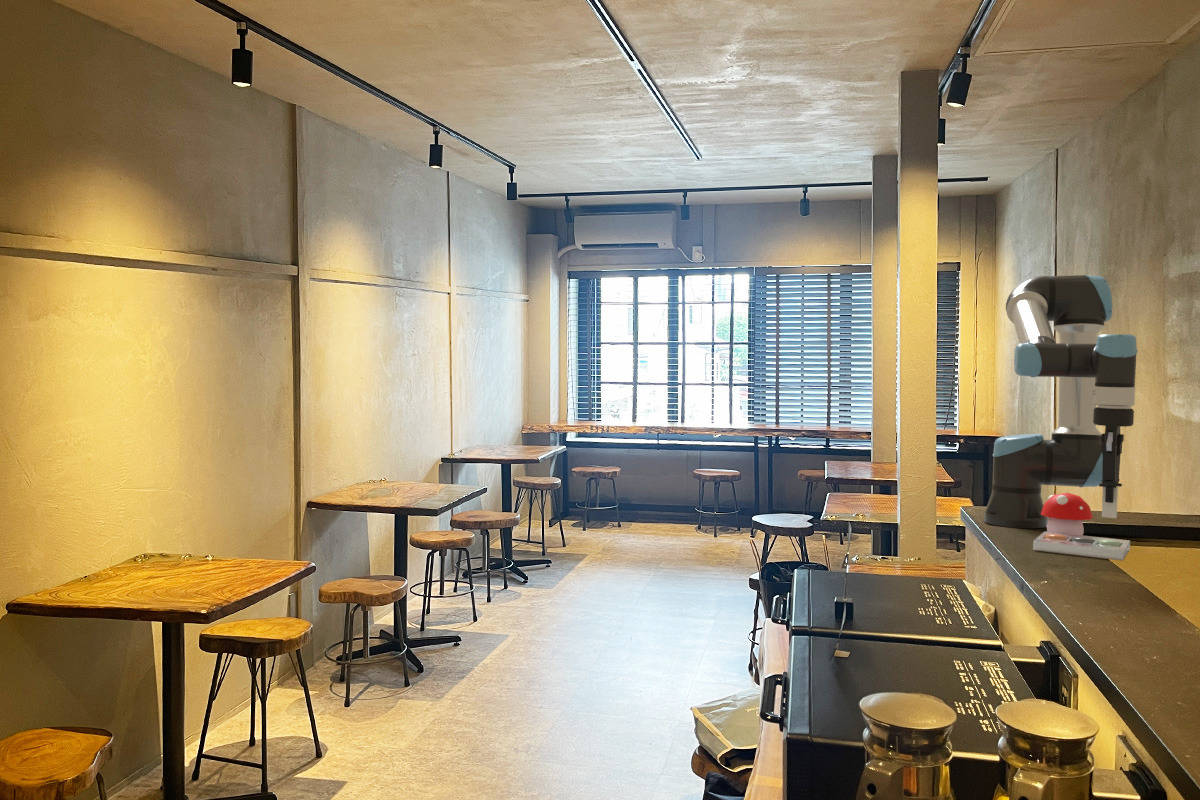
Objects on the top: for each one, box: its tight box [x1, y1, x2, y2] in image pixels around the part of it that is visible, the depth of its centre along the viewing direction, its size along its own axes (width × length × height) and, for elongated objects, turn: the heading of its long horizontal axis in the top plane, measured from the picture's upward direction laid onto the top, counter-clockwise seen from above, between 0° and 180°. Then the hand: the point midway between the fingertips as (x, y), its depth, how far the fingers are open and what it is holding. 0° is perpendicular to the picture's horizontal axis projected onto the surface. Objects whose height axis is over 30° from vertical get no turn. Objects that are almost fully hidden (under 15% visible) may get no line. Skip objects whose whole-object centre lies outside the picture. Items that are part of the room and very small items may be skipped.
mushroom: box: [1041, 492, 1094, 536], centre depth 216 cm, size 11×11×12 cm
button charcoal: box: [1072, 536, 1093, 544], centre depth 202 cm, size 4×4×2 cm
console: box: [1032, 531, 1131, 562], centre depth 202 cm, size 14×17×4 cm
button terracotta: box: [1045, 534, 1066, 541], centre depth 204 cm, size 4×4×2 cm
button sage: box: [1099, 539, 1120, 547], centre depth 199 cm, size 4×4×2 cm
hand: (1109, 517), depth 199 cm, fingers closed
